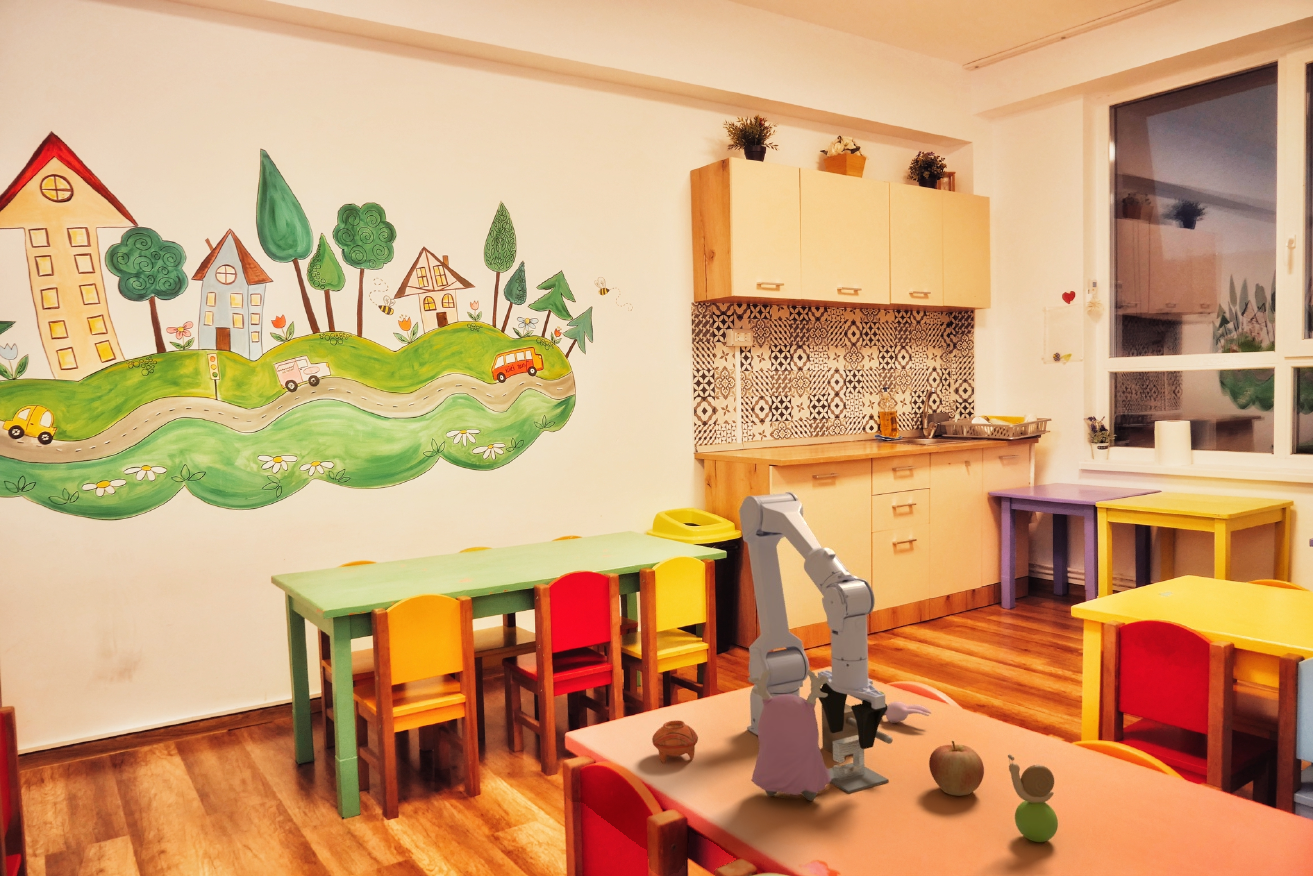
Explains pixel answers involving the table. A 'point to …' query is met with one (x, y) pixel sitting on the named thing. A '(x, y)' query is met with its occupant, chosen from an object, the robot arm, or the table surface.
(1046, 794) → the snail figurine
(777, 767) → the toy character
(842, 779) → the link
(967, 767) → the apple
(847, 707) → the stand
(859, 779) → the mat
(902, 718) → the rabbit figure
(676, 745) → the pot
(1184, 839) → the table surface
